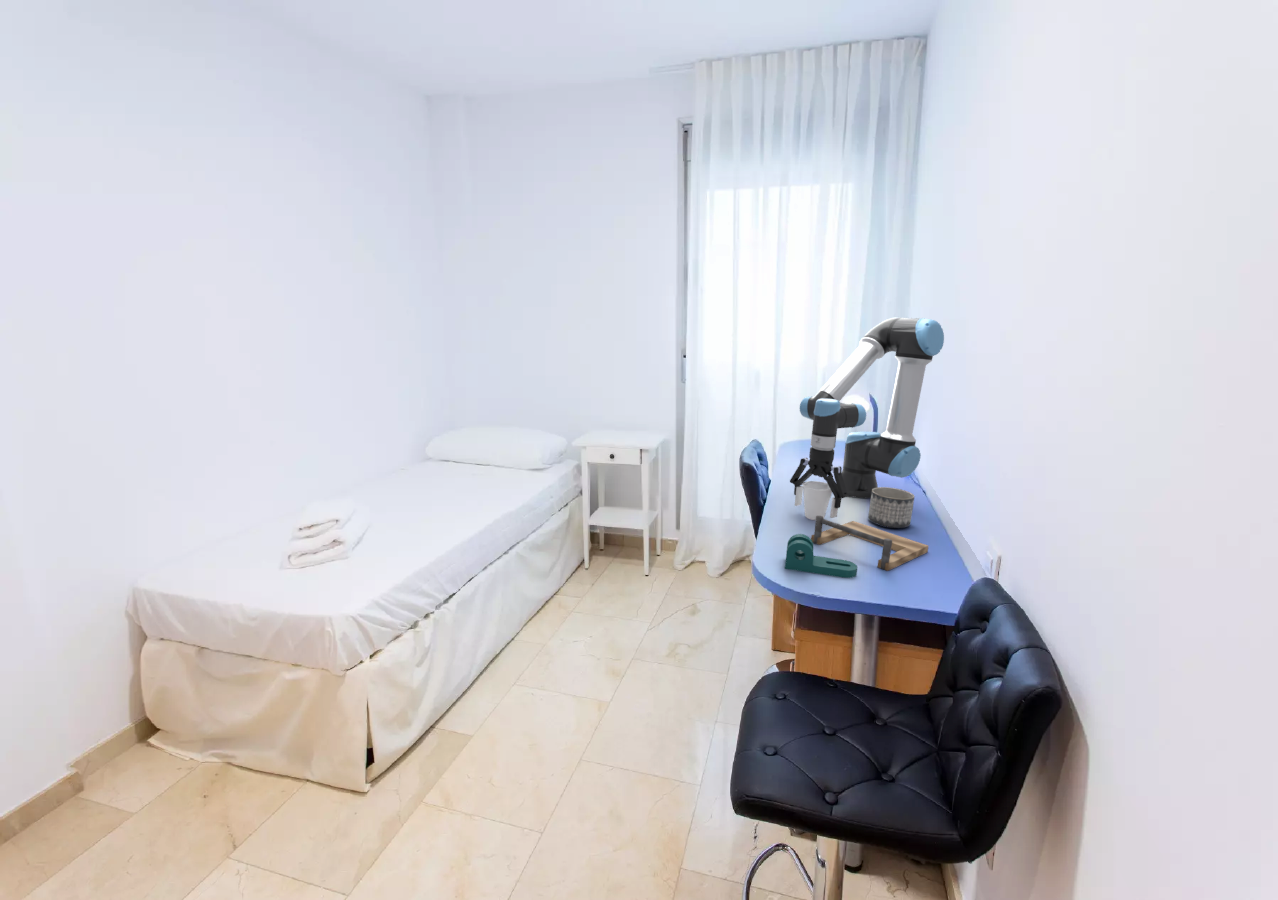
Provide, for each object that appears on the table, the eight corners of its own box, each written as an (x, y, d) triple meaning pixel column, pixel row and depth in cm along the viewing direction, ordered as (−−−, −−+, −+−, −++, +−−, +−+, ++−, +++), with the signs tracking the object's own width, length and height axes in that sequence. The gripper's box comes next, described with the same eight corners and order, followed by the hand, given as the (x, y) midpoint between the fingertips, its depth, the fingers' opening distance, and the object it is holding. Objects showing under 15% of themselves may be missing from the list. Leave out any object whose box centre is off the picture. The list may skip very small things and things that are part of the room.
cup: (792, 514, 200) (796, 482, 197) (816, 511, 204) (820, 480, 201) (812, 524, 191) (815, 491, 188) (836, 521, 195) (840, 488, 192)
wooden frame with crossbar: (852, 526, 190) (855, 502, 188) (927, 552, 172) (931, 525, 170) (810, 541, 176) (813, 516, 175) (887, 571, 158) (891, 542, 157)
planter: (864, 515, 202) (868, 485, 199) (905, 519, 199) (909, 489, 197) (871, 528, 190) (875, 496, 187) (913, 532, 187) (918, 501, 185)
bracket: (784, 569, 157) (787, 541, 156) (785, 559, 164) (788, 532, 162) (857, 580, 153) (861, 551, 151) (855, 569, 159) (859, 541, 157)
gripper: (783, 441, 199) (777, 502, 204) (851, 457, 180) (842, 524, 185) (797, 438, 203) (790, 498, 208) (864, 454, 185) (855, 520, 190)
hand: (815, 511), depth 197 cm, fingers open, 13 cm apart
